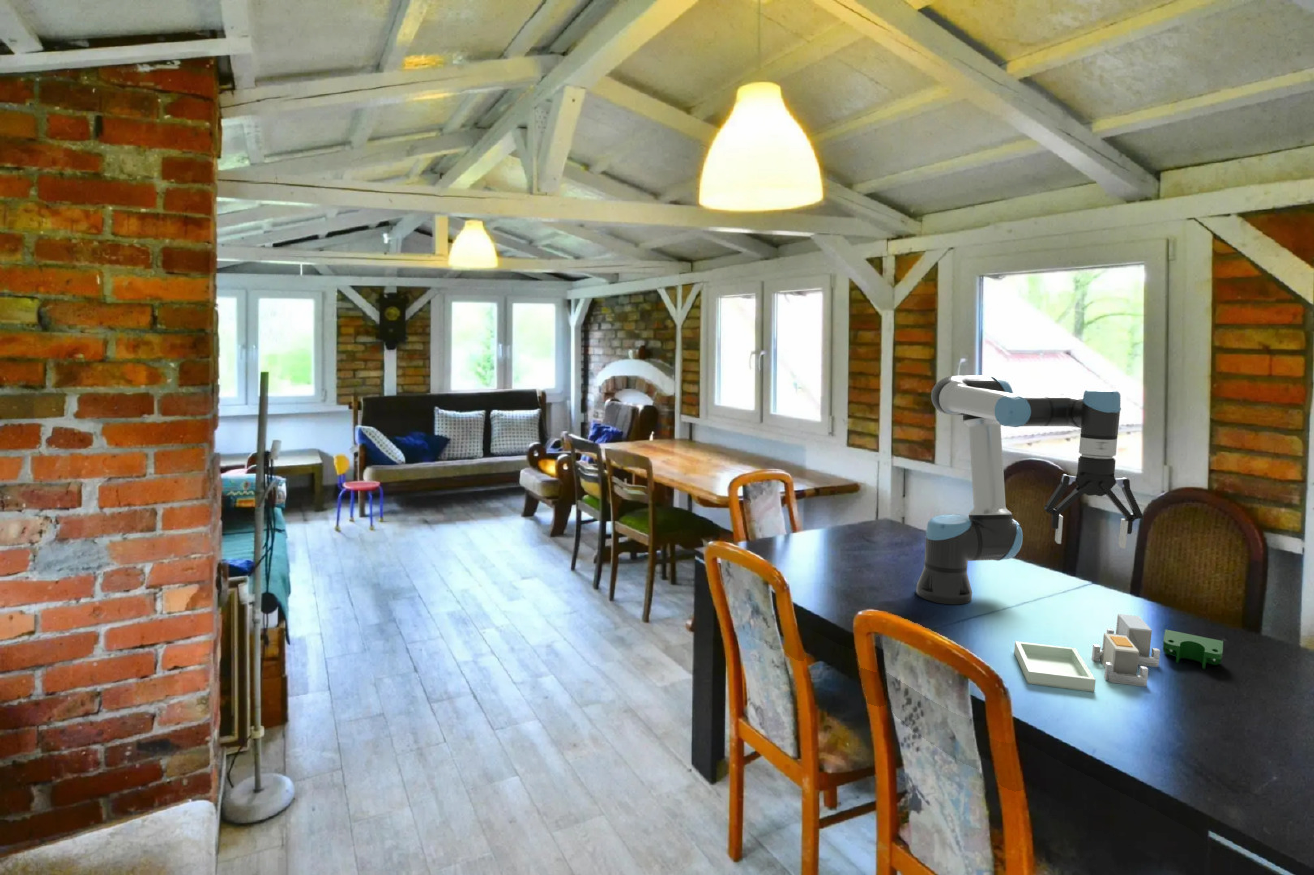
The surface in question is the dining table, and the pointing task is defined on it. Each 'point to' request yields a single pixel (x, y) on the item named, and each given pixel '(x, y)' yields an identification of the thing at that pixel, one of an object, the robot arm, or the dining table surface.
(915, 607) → the dining table surface
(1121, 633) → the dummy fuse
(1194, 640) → the clamp
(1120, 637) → the block
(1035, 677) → the tray
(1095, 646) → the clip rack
